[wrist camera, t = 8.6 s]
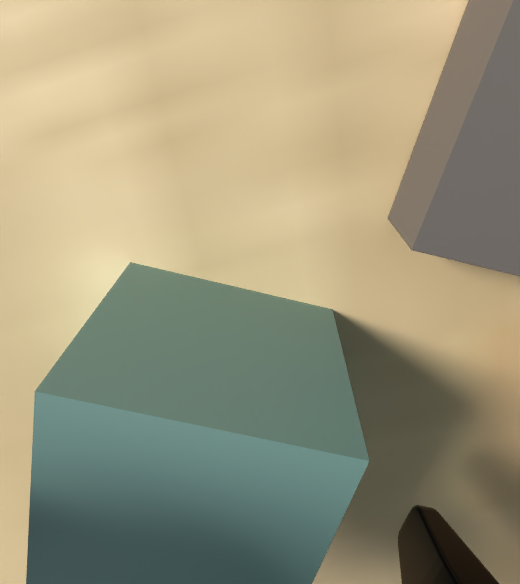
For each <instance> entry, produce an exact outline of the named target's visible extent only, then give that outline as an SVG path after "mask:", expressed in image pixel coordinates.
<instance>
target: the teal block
mask: <svg viewBox="0 0 520 584" xmlns="http://www.w3.org/2000/svg"><path fill="white" fill-rule="evenodd" d="M368 463H369V457H368V453H367V449H366V445H365V441H364V436H363V432H362V428H361V424H360V420H359V416H358V412H357V408H356V404H355V400H354V395H353V391H352V387H351V383H350V379H349V375H348V371H347V367H346V363H345V358H344V354H343V350H342V346H341V342H340V338H339V334H338V330H337V326H336V322H335V317H334V313H333V310H332V309H328V308H324V307H320V306H315V305H311V304H307V303H302V302H298V301H294V300H290V299H285V298H281V297H277V296H272V295H268V294H264V293H260V292H255V291H251V290H247V289H242V288H238V287H234V286H230V285H225V284H221V283H217V282H212V281H208V280H204V279H200V278H195V277H191V276H187V275H182V274H178V273H174V272H170V271H165V270H161V269H157V268H152V267H148V266H144V265H140V264H135V263H131V262H130V264H129V265H128V266H127V268H126V269H125V270H124V272H123V273H122V274H121V276H120V277H119V278H118V280H117V281H116V283H115V284H114V285H113V287H112V288H111V289H110V291H109V292H108V293H107V295H106V296H105V297H104V299H103V300H102V301H101V303H100V304H99V306H98V307H97V308H96V310H95V311H94V312H93V314H92V315H91V316H90V318H89V319H88V320H87V322H86V323H85V324H84V326H83V327H82V328H81V330H80V331H79V333H78V334H77V335H76V337H75V338H74V339H73V341H72V342H71V343H70V345H69V346H68V347H67V349H66V350H65V351H64V353H63V354H62V356H61V357H60V358H59V360H58V361H57V362H56V364H55V365H54V366H53V368H52V369H51V370H50V372H49V373H48V374H47V376H46V377H45V379H44V380H43V381H42V383H41V384H40V385H39V387H38V388H37V389H36V391H35V402H34V424H33V446H32V468H31V490H30V512H29V534H28V556H27V578H26V584H312V582H313V580H314V578H315V576H316V574H317V572H318V570H319V568H320V565H321V563H322V561H323V559H324V557H325V555H326V553H327V550H328V548H329V546H330V544H331V542H332V540H333V538H334V536H335V533H336V531H337V529H338V527H339V525H340V523H341V521H342V519H343V516H344V514H345V512H346V510H347V508H348V506H349V504H350V502H351V499H352V497H353V495H354V493H355V491H356V489H357V487H358V485H359V482H360V480H361V478H362V476H363V474H364V472H365V470H366V468H367V465H368Z"/></svg>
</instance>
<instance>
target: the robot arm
mask: <svg viewBox="0 0 520 584" xmlns="http://www.w3.org/2000/svg"><path fill="white" fill-rule="evenodd" d="M398 548H399V558H400V569H401V579H402V584H499V583H498V582H497V581H496V579H495V578H494V577H493V576H492V575H491V574H490V572H489V571H488V570H487V569H486V568H485V566H484V565H483V564H482V563H481V562H480V561H479V559H478V558H477V557H476V556H475V555H474V554H473V552H472V551H471V550H470V549H469V548H468V547H467V545H466V544H465V543H464V542H463V541H462V540H461V538H460V537H459V536H458V535H457V534H456V533H455V531H454V530H453V529H452V528H451V527H450V526H449V524H448V523H447V522H446V521H445V520H444V518H443V517H442V516H441V515H440V514H439V513H438V512H437V511H436V510H435V509H433V508H429V507H424V506H419V505H416V506H414V507H413V508H412V509H411V511H410V513H409V514H408V516H407V518H406V520H405V522H404V524H403V525H402V527H401V529H400V531H399V536H398Z"/></svg>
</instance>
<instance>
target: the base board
mask: <svg viewBox="0 0 520 584" xmlns="http://www.w3.org/2000/svg"><path fill="white" fill-rule="evenodd" d="M388 220H389V221H390V222H391V224H392V225H393V226H394V227H395V229H396V230H397V231H398V233H399V234H400V235H401V237H402V238H403V239H404V241H405V242H406V243H407V245H408V246H409V247H410V249H411V250H414V251H418V252H422V253H426V254H430V255H434V256H438V257H443V258H447V259H451V260H455V261H459V262H463V263H467V264H471V265H476V266H480V267H484V268H488V269H492V270H496V271H500V272H505V273H509V274H513V275H517V276H520V0H469V1H468V4H467V7H466V9H465V12H464V15H463V17H462V20H461V23H460V26H459V28H458V31H457V34H456V36H455V39H454V42H453V44H452V47H451V50H450V52H449V55H448V58H447V60H446V63H445V66H444V69H443V71H442V74H441V77H440V79H439V82H438V85H437V87H436V90H435V93H434V95H433V98H432V101H431V103H430V106H429V109H428V112H427V114H426V117H425V120H424V122H423V125H422V128H421V130H420V133H419V136H418V138H417V141H416V144H415V146H414V149H413V152H412V155H411V157H410V160H409V163H408V165H407V168H406V171H405V173H404V176H403V179H402V181H401V184H400V187H399V189H398V192H397V195H396V198H395V200H394V203H393V206H392V208H391V211H390V214H389V216H388Z"/></svg>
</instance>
